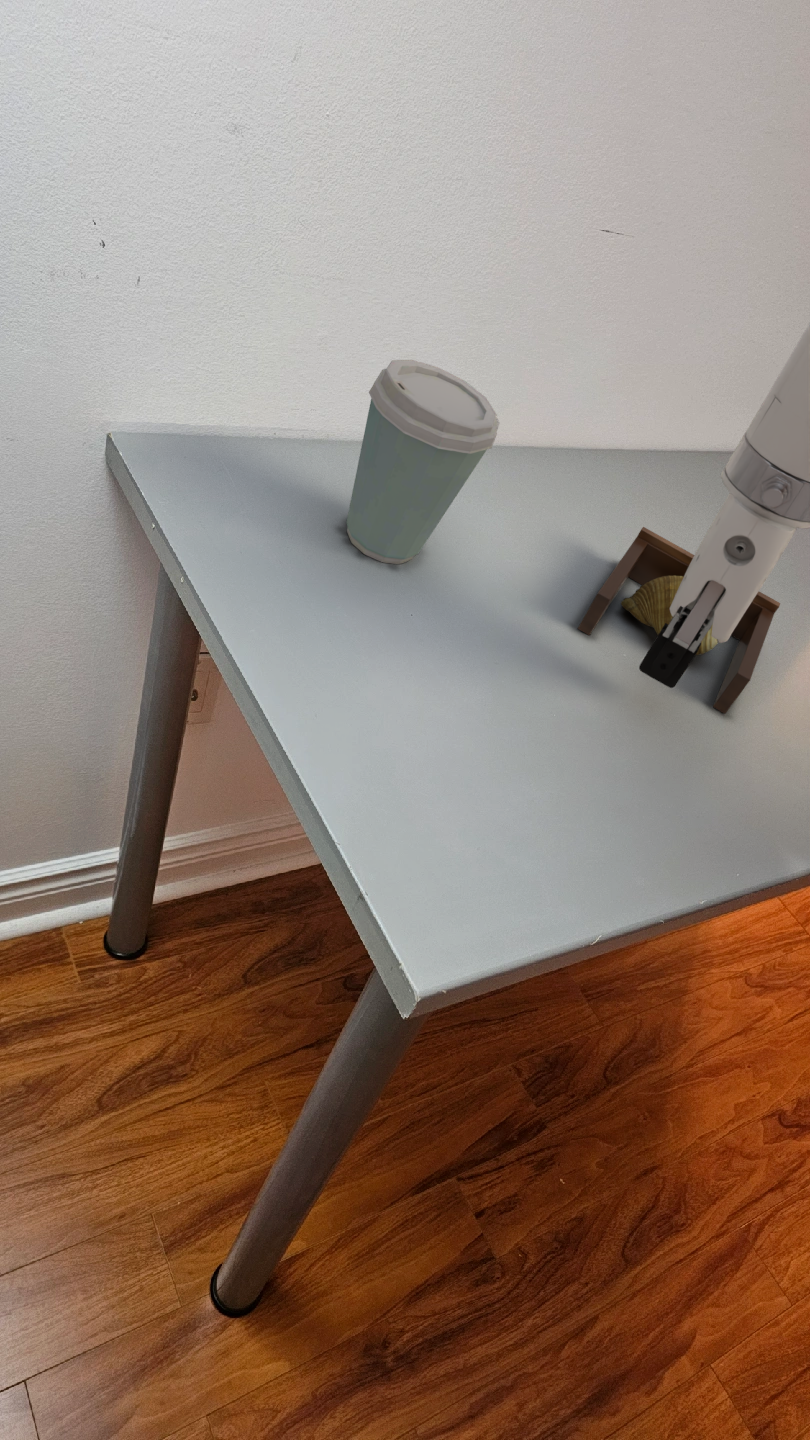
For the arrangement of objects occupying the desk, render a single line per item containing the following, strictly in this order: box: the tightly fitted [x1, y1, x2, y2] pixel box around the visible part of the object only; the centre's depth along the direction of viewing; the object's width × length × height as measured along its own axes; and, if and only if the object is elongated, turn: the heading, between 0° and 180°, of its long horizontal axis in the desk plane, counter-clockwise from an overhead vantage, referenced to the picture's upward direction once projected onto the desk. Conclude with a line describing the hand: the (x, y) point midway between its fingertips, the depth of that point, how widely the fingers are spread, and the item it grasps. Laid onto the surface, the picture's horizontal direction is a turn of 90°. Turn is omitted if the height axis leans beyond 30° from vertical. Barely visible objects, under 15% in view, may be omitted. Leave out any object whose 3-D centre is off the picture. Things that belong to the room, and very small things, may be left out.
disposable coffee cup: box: [345, 359, 500, 565], centre depth 86 cm, size 11×11×15 cm
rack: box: [577, 526, 781, 714], centre depth 94 cm, size 14×14×5 cm
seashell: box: [620, 576, 719, 656], centre depth 95 cm, size 10×7×8 cm
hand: (657, 674), depth 85 cm, fingers closed
